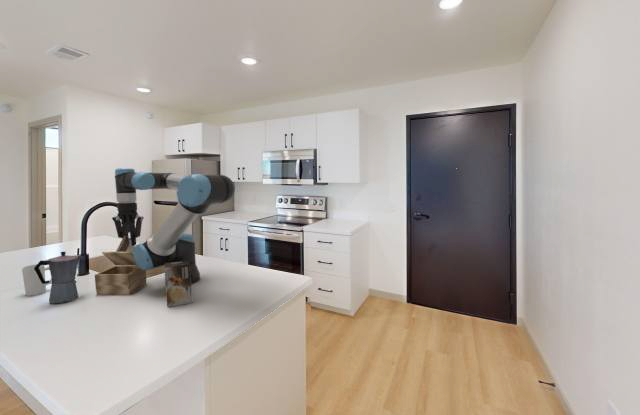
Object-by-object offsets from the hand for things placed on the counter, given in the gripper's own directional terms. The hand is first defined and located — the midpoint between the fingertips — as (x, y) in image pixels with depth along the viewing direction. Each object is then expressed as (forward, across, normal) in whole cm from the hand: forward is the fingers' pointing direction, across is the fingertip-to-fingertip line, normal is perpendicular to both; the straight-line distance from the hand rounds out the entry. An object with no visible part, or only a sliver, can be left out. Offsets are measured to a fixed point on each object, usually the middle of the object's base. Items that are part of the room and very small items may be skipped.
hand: (130, 252), depth 132 cm
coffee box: (+16, -32, +20) cm, 41 cm away
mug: (+16, +34, +9) cm, 38 cm away
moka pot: (+16, +17, +18) cm, 29 cm away
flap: (+2, 0, +5) cm, 6 cm away
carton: (+15, 0, +7) cm, 17 cm away
